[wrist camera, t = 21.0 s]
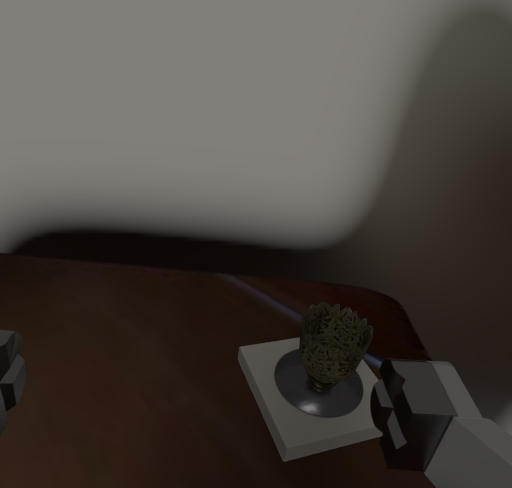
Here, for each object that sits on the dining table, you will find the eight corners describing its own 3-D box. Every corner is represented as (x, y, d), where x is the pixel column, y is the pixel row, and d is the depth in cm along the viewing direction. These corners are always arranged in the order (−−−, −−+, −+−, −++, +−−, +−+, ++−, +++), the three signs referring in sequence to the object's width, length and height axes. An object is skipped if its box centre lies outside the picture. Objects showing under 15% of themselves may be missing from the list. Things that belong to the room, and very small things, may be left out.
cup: (336, 418, 47) (355, 360, 43) (276, 381, 50) (288, 324, 46) (365, 377, 53) (384, 322, 49) (309, 346, 56) (322, 293, 52)
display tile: (237, 359, 56) (239, 345, 54) (338, 342, 61) (341, 329, 60) (283, 462, 44) (287, 447, 43) (401, 430, 50) (407, 417, 48)
